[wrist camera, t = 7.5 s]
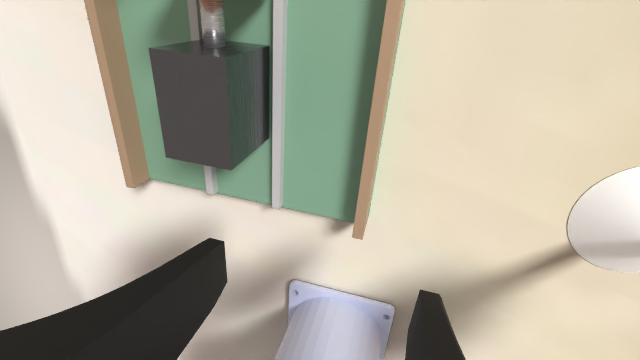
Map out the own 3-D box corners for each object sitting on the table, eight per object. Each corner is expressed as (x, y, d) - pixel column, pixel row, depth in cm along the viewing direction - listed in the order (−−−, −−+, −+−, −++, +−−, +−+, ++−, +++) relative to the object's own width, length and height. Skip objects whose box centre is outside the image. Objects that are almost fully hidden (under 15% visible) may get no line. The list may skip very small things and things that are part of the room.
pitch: (368, 214, 22) (351, 282, 17) (154, 169, 25) (81, 214, 20) (439, -200, 13) (449, -342, 8) (89, -189, 16) (-76, -284, 11)
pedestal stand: (273, 138, 20) (233, 174, 15) (211, 127, 20) (157, 159, 16) (274, -41, 15) (220, -57, 11) (196, -46, 16) (119, -63, 12)
